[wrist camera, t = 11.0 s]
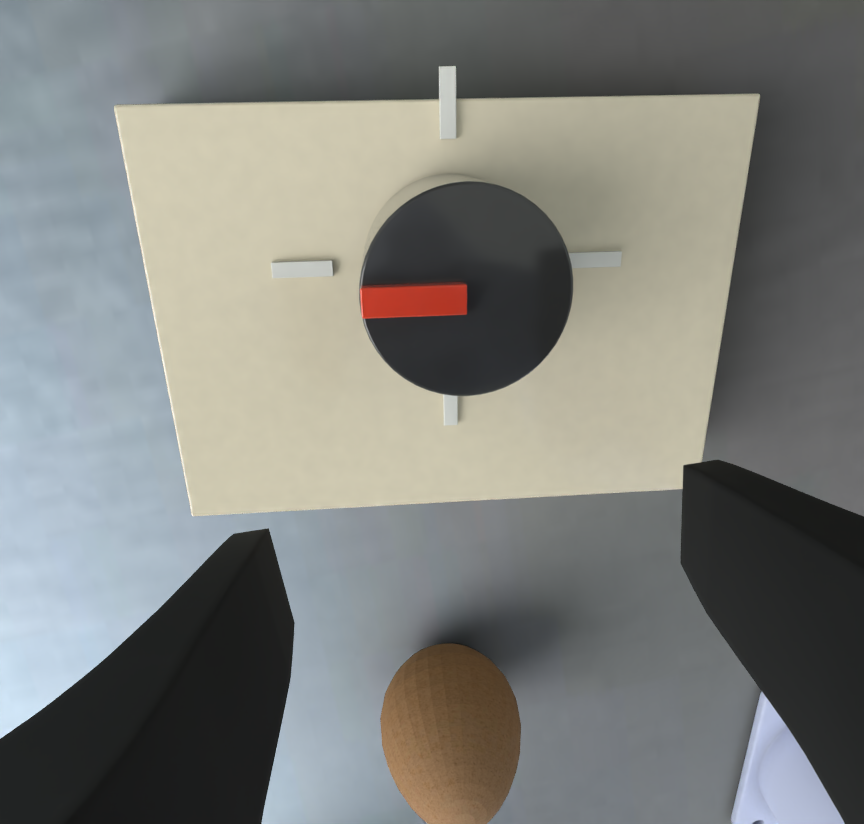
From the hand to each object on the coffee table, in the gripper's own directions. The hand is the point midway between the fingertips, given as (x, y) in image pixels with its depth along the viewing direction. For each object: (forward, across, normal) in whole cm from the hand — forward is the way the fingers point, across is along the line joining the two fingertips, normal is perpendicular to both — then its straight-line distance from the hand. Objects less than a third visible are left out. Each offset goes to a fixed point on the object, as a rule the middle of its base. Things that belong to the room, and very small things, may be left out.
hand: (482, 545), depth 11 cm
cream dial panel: (+8, 0, -2) cm, 9 cm away
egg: (+9, +1, +11) cm, 14 cm away
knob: (+6, 0, -4) cm, 7 cm away
